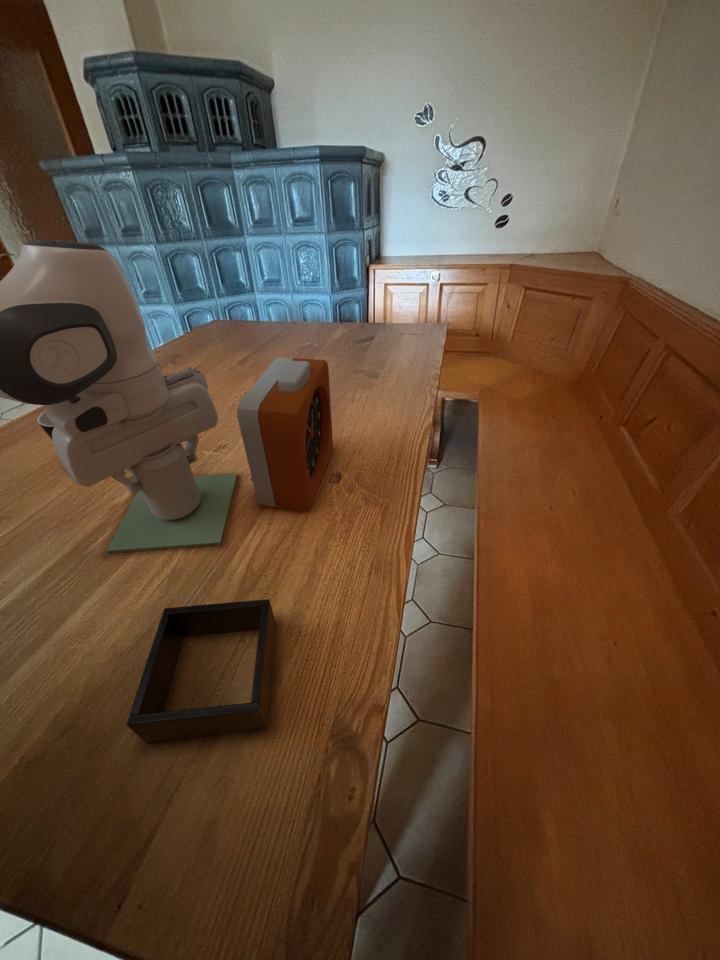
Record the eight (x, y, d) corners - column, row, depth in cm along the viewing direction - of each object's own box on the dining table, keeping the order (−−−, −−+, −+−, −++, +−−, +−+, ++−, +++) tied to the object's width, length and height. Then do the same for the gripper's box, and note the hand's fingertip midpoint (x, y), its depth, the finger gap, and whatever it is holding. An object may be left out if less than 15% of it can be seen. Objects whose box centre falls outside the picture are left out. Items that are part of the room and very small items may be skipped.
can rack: (146, 743, 37) (125, 725, 34) (178, 631, 46) (164, 608, 43) (267, 730, 38) (258, 710, 35) (275, 622, 47) (269, 598, 44)
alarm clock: (309, 514, 61) (295, 397, 48) (257, 508, 62) (228, 392, 49) (334, 448, 75) (328, 343, 62) (290, 444, 76) (275, 340, 63)
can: (198, 520, 59) (173, 457, 51) (147, 526, 58) (113, 462, 50) (205, 488, 64) (184, 427, 57) (158, 493, 63) (130, 432, 56)
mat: (107, 553, 55) (106, 550, 55) (144, 482, 67) (143, 479, 67) (221, 544, 56) (220, 542, 56) (237, 476, 68) (236, 473, 68)
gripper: (188, 357, 56) (212, 437, 65) (27, 412, 44) (83, 501, 52) (213, 369, 53) (235, 451, 61) (47, 431, 40) (103, 522, 49)
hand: (164, 475), depth 57 cm, fingers closed on can, 7 cm apart
